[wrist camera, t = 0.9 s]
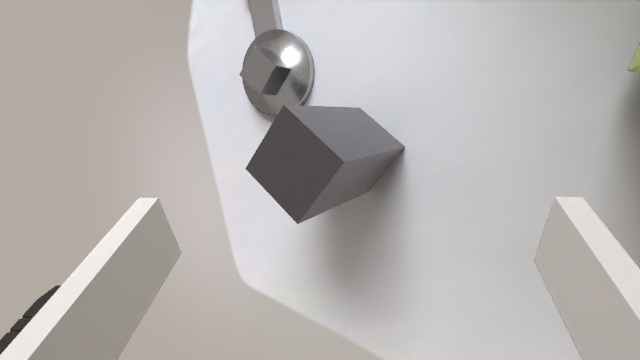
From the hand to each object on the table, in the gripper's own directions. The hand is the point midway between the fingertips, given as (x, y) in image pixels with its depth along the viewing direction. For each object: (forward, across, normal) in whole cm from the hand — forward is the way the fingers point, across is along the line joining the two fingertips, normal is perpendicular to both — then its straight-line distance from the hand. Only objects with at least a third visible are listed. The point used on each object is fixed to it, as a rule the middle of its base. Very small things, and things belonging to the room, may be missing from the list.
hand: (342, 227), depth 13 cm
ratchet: (+33, -10, +2) cm, 34 cm away
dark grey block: (+23, 0, -10) cm, 25 cm away
